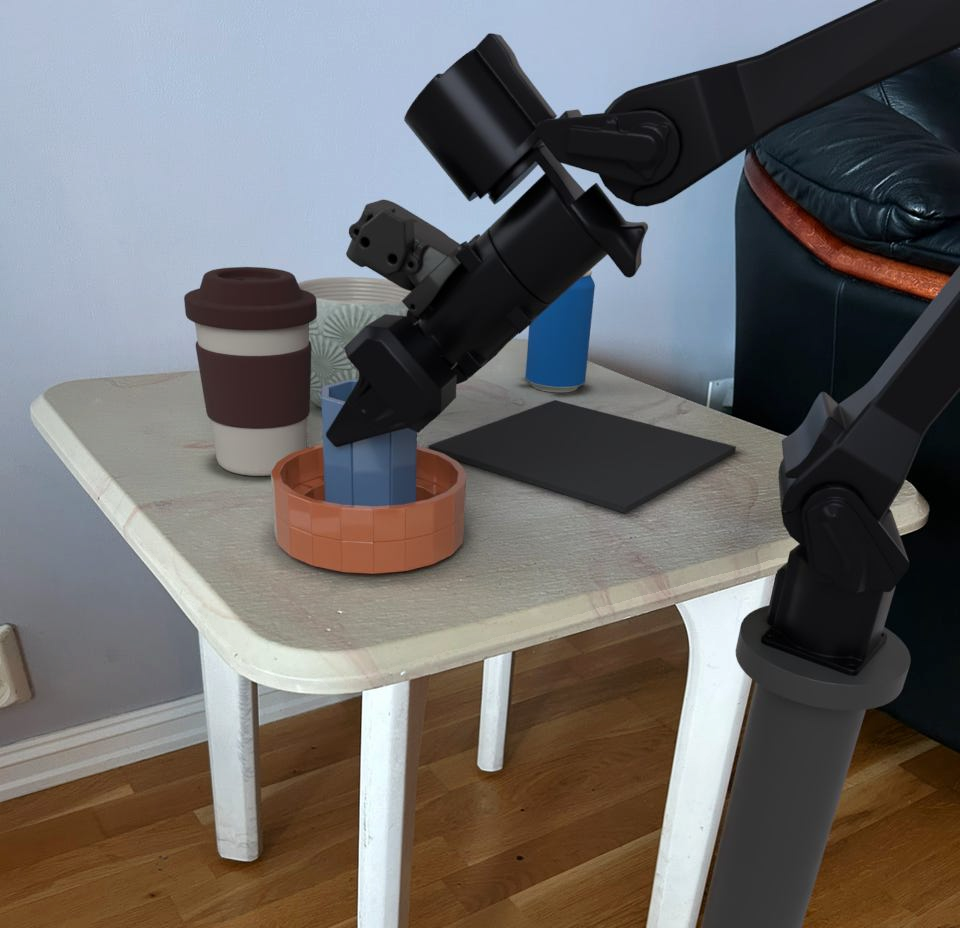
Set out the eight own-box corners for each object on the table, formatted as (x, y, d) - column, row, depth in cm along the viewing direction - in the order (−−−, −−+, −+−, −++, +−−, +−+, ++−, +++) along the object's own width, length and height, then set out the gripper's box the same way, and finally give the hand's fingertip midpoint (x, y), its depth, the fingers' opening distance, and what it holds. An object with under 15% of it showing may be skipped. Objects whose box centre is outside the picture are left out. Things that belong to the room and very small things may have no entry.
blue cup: (432, 518, 70) (435, 392, 65) (372, 544, 65) (371, 412, 61) (368, 495, 73) (366, 374, 68) (307, 519, 69) (301, 391, 64)
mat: (735, 452, 90) (736, 446, 90) (625, 513, 76) (626, 506, 76) (554, 405, 100) (554, 399, 100) (428, 451, 86) (428, 445, 86)
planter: (441, 416, 95) (444, 299, 90) (318, 428, 90) (313, 305, 85) (395, 382, 105) (395, 274, 100) (281, 391, 100) (275, 278, 95)
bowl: (500, 537, 71) (504, 472, 69) (375, 600, 62) (375, 526, 59) (366, 490, 78) (365, 428, 75) (236, 540, 69) (230, 471, 66)
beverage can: (585, 380, 109) (597, 266, 103) (583, 396, 104) (595, 277, 98) (527, 375, 110) (535, 262, 104) (522, 391, 104) (530, 272, 98)
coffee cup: (340, 474, 81) (335, 282, 73) (221, 491, 76) (203, 289, 69) (297, 437, 88) (288, 260, 80) (186, 451, 84) (166, 265, 76)
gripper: (470, 145, 65) (318, 303, 72) (379, 164, 49) (197, 364, 56) (577, 281, 67) (420, 420, 75) (523, 340, 51) (331, 510, 59)
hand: (350, 424), depth 66 cm, fingers closed on blue cup, 6 cm apart
